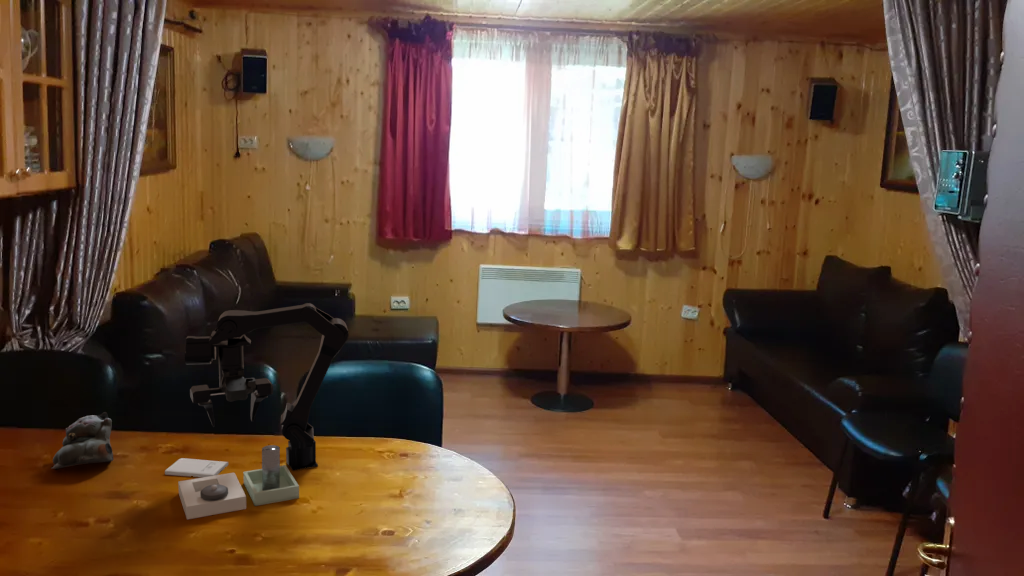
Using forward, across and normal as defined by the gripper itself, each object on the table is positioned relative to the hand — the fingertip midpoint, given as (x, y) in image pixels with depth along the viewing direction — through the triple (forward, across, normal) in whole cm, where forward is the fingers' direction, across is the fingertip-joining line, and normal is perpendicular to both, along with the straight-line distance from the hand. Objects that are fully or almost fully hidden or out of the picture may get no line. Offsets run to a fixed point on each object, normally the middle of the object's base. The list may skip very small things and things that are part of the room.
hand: (233, 423), depth 200 cm
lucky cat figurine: (+12, -33, +18) cm, 40 cm away
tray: (+12, +6, -16) cm, 21 cm away
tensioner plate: (+12, -8, -16) cm, 21 cm away
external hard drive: (+13, -8, +3) cm, 16 cm away
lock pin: (+11, +6, -16) cm, 20 cm away
